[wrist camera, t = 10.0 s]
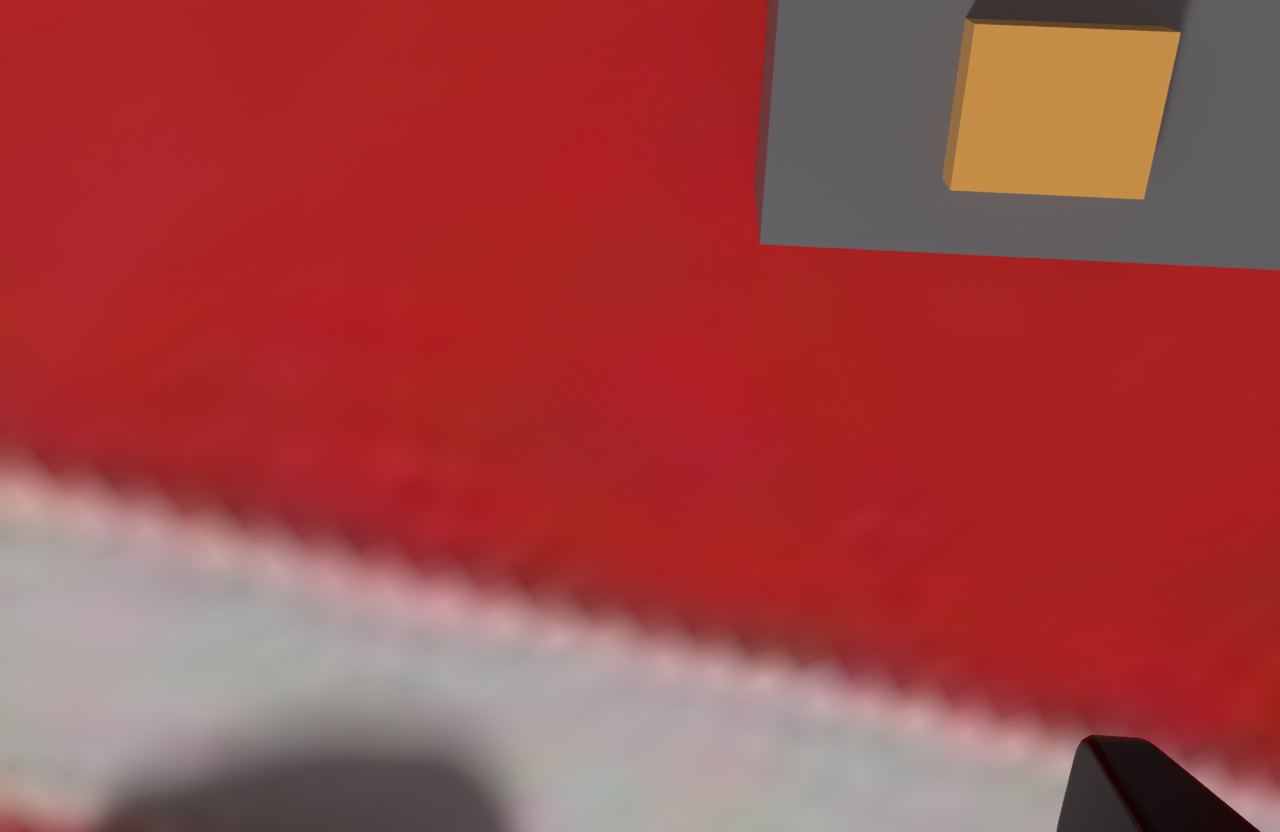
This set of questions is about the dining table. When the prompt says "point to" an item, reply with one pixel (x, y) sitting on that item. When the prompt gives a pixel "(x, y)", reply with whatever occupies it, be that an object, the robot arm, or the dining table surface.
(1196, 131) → the power strip
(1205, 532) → the dining table surface
